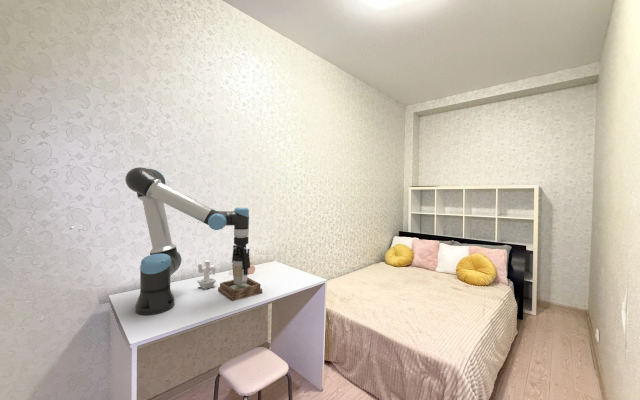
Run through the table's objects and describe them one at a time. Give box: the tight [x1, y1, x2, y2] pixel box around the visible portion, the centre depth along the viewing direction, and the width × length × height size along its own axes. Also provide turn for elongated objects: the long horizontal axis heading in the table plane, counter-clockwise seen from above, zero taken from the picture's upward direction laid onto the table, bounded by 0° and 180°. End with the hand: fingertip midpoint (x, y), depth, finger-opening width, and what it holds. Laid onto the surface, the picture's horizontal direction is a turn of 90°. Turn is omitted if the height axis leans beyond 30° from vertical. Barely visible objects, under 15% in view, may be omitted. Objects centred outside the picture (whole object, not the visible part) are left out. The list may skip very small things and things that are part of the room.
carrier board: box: [217, 276, 263, 302], centre depth 141 cm, size 17×17×4 cm
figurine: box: [196, 259, 217, 290], centre depth 146 cm, size 7×9×15 cm
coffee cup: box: [231, 254, 250, 284], centre depth 141 cm, size 9×9×15 cm
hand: (240, 278), depth 141 cm, fingers closed on coffee cup, 9 cm apart
